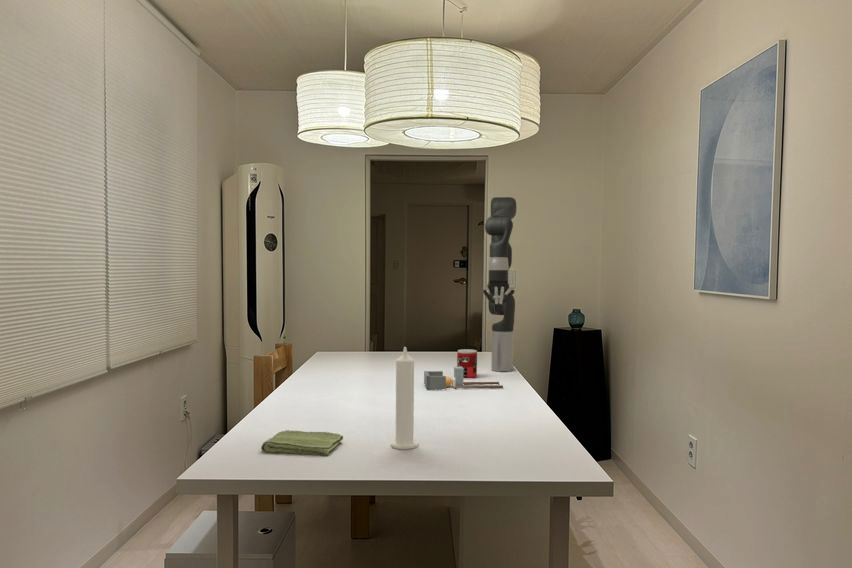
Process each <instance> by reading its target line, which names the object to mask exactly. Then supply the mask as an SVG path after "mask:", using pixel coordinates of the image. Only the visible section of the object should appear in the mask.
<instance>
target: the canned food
mask: <svg viewBox="0 0 852 568" xmlns="http://www.w3.org/2000/svg"><path fill="white" fill-rule="evenodd" d="M456 352H457V353H456V354H457V355H456V356H457V357H456V360H457V361H456V362H457V363H456V367H463V378H474V379H476V378H477V375H478V373H477V371H478V368H477V367H478V350H476V349H468V348H467V349H465V348H464V349H458V350H457V351H456ZM475 377H476V378H475Z"/></svg>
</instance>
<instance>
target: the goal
mask: <svg viewBox="0 0 852 568" xmlns="http://www.w3.org/2000/svg"><path fill="white" fill-rule="evenodd" d="M423 375H424V376H423V385H424V384H425V385H424V388H425V389H427V390H426V391H439V390H438V389H446V390H447V387H446V375H444V372H443V370H425V371H424V372H423ZM435 389H437V390H435Z"/></svg>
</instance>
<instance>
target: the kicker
mask: <svg viewBox="0 0 852 568" xmlns="http://www.w3.org/2000/svg"><path fill="white" fill-rule="evenodd" d="M451 380H452V383H451V386H452V388H454V389H455V386H464V385H463V382H464V379H463V367H457V366H453V376H451Z"/></svg>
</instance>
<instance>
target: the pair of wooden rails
mask: <svg viewBox="0 0 852 568" xmlns="http://www.w3.org/2000/svg"><path fill="white" fill-rule="evenodd" d="M463 384H499V385H463V386H455V388H503V389H504V386H503V385H500V382H499V381H463ZM455 388H454V389H455Z"/></svg>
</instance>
